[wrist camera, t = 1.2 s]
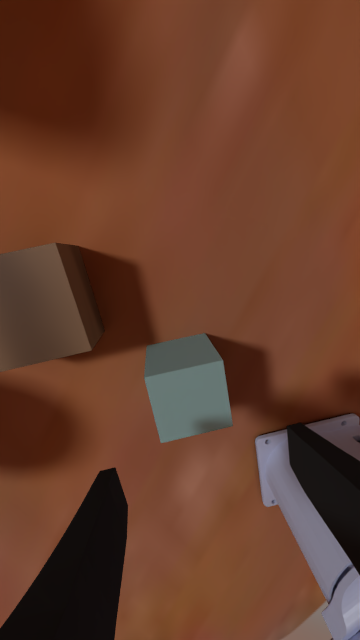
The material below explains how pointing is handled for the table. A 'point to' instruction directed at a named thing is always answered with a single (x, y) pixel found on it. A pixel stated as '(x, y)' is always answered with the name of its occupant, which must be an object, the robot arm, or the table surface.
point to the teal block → (187, 387)
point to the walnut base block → (45, 306)
